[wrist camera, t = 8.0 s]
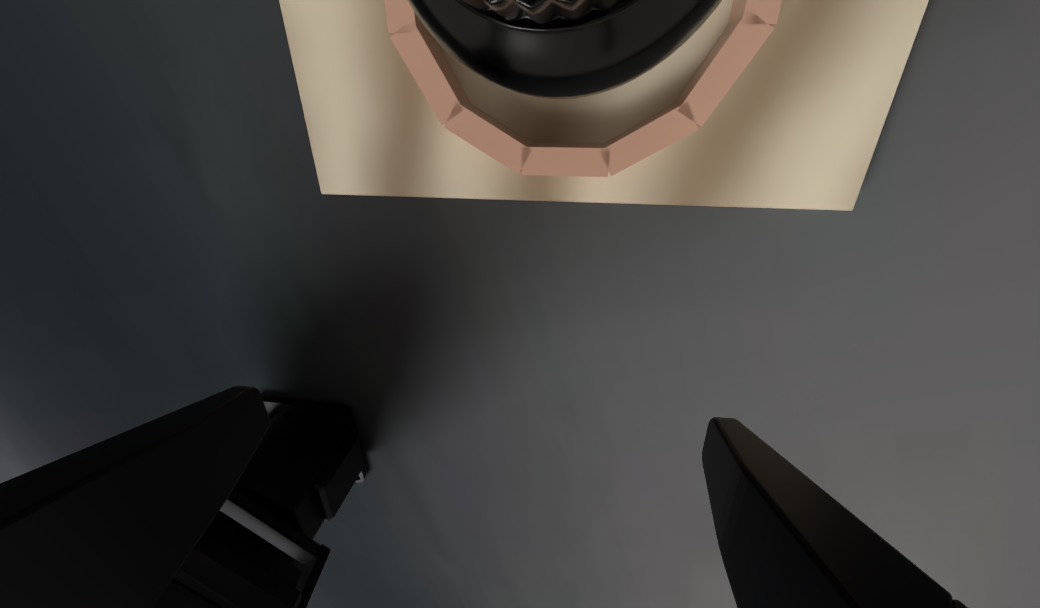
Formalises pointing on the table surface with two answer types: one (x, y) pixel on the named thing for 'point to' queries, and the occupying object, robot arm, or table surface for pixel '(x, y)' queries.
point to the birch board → (614, 113)
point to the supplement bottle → (561, 40)
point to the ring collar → (692, 108)
